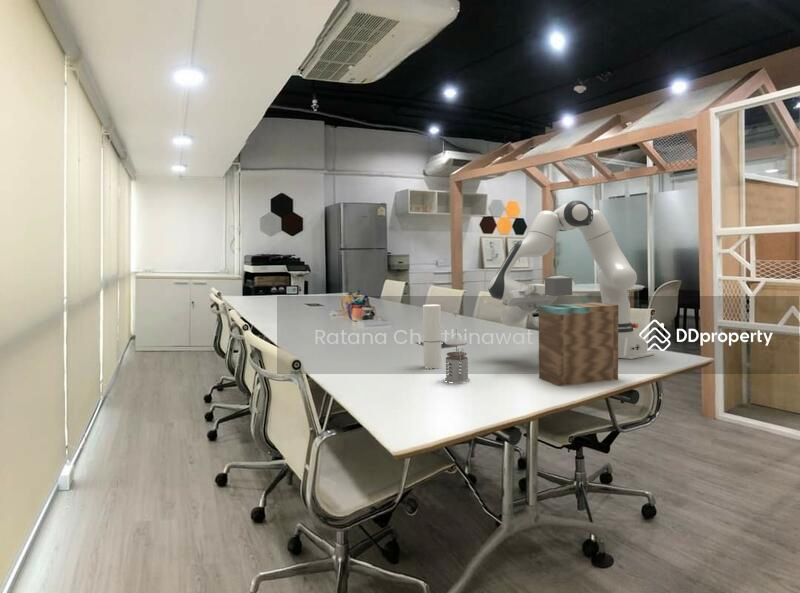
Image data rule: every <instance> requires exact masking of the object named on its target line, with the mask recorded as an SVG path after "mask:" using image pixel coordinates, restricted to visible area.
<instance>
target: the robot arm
mask: <svg viewBox="0 0 800 593" xmlns="http://www.w3.org/2000/svg"><path fill="white" fill-rule="evenodd" d="M574 229H578V230H579V231H580V232H581V233H582V236H583V238H584V240H585V243H586V245H587V247H588V250H589V252H590V254H591V257H592V259H594V261H595V263H596V264H597V265H598V267H599V271H598V272H597V280H598V284H599V292H600V298H601V303H605V304H613V305H618V359H628V360H630V359H631V360H633V359H638V358H644V357H650V356H653V355H654V352H653V351H651V350H648V344H647V340H646V339H644V338H643V337H642V336H641V335H639V334H638V333H637V332H636V331H635V330H634V329H638V328H639V324H638V323H636V322H633V323H632V322H631V302H630V299H629V296H628V290H630V289H631V288H633V287H634V286H635V285H636V283H637V280H638V275H637V272H636V270H635V269H633V267H632V266H631V264H630V263H629V260H628V258H626V255H625V254H624V253H623V250H621V248H620V246H619V244H618V241H617V240H616V237H615V235H614V233H613V231H612V228H611V227H610V224H609V222H608V220H607V219H606V217H605V216H604V214H603V212H601V211H600V210H598V209H592V208H590V206H589V205H588V204H587V203H585V201H582V200H572V201H570V202H569V201H568V202H566V203H563V204H562V205H560V206H559V207H557V208H555V209H553V211H551V210H541V211H540V212H538V214H537V215H536V217H535V218H534V220H533V222H532V224H531V226H530V228H529V230H528V233H527V235H526V236H525V238H523V239H522V240H518V241H516V243H515V244H514V245H513V247H512V248H511V249H510V251H509V252H508V254H507V255H506V257H505V259H504V261H503V262H502V264H501V265H500V267H499V269H498V270H497V272H496V274H495V275H494V276H493V278H492V279H491V281H490V283H489V285H488V292H489V295H490V297H491V298H493V299H496V300H501V301H502V303H501V304H502V305H504V306H505V307H504V308H503V309H502V311H501V312H500V317H499V318H500V321H501V322H502V323H503V324H504V325H506V326H508V327H515V326H517V325H519V324H520V323H522V322H523V321H524V320H525V318H526V317H528V316H529V315H530V314H531V315H532V314H534V313H536V312H537V313H538V312H539V306H546V305H552V303H553V302H554V301H556V300H557V298H558V297H559V296H549V295H545V294H539V293H532V292H535V291H536V286H531V287H530V288H528V284H526V283H523V282H520V281H519V280H518V281H517V280H515V279H512V278H510V277H509V274H510V273H511V271H512V269H513V268H514V266H515V264H516V263H517V261H518V260H519V259H520V258H527V257H529V258H537V257H539V258H540V257H543V256H545V255H547V254H548V253H549V252H550V251H551V249H552V248H553V245H554V243H555V240H556V237H557V234H558V232H566V231H572V230H574Z"/></svg>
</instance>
